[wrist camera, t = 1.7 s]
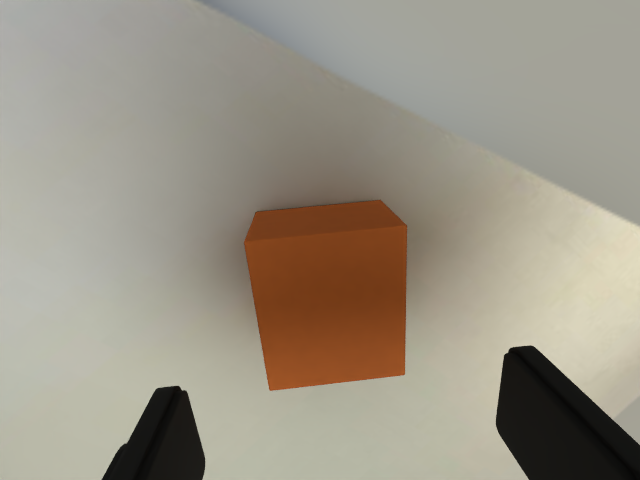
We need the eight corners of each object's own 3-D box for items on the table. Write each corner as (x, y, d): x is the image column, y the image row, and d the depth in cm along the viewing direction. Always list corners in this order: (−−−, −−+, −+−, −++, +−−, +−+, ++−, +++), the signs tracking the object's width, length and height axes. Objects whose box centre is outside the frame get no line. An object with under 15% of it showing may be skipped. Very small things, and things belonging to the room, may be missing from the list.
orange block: (255, 211, 16) (243, 241, 12) (380, 199, 16) (407, 224, 12) (274, 335, 18) (269, 391, 14) (382, 322, 18) (405, 375, 15)
